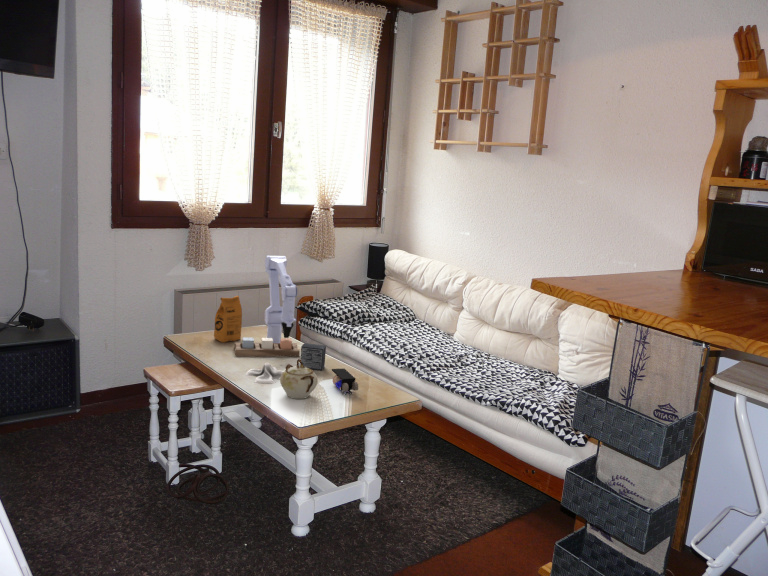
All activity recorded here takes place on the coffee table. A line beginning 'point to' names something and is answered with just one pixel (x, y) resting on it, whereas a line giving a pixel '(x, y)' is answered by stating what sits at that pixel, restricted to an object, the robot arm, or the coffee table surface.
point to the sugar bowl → (298, 381)
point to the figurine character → (344, 380)
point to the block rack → (266, 350)
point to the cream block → (267, 343)
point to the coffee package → (228, 320)
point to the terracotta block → (285, 343)
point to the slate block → (248, 342)
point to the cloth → (265, 374)
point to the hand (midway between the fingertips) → (286, 337)
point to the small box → (313, 356)
